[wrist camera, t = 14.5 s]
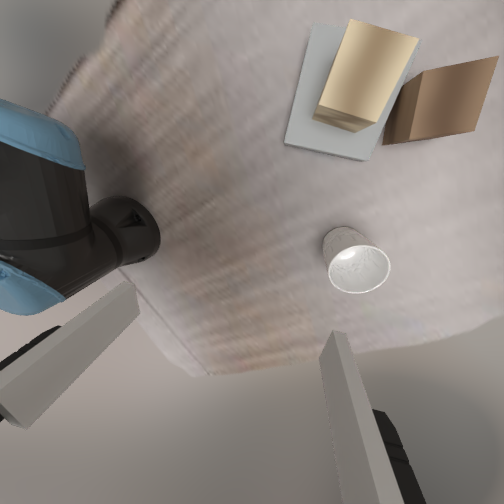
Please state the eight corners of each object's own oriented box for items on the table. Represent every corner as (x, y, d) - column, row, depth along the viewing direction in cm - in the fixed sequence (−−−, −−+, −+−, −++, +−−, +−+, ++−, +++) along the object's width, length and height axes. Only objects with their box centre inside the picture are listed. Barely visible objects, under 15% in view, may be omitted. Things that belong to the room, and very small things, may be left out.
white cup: (337, 215, 32) (354, 234, 24) (374, 237, 33) (405, 264, 24) (310, 249, 36) (317, 277, 27) (344, 268, 36) (361, 302, 28)
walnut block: (382, 145, 27) (409, 139, 21) (390, 94, 25) (423, 71, 18) (430, 139, 26) (474, 131, 20) (443, 84, 23) (499, 55, 17)
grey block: (284, 145, 30) (283, 142, 26) (310, 42, 24) (313, 22, 21) (358, 161, 29) (368, 161, 25) (402, 58, 23) (422, 39, 20)
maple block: (311, 119, 24) (318, 104, 18) (333, 59, 22) (350, 18, 16) (354, 133, 24) (376, 122, 18) (382, 74, 21) (419, 38, 15)
